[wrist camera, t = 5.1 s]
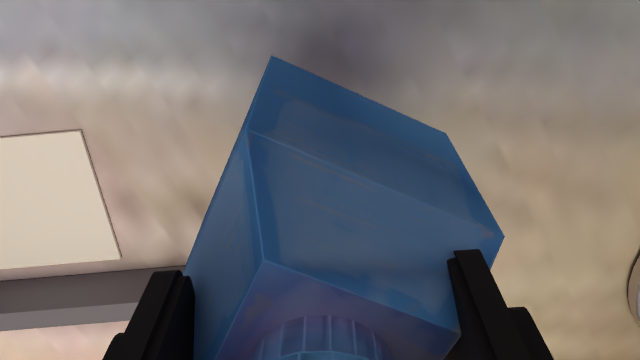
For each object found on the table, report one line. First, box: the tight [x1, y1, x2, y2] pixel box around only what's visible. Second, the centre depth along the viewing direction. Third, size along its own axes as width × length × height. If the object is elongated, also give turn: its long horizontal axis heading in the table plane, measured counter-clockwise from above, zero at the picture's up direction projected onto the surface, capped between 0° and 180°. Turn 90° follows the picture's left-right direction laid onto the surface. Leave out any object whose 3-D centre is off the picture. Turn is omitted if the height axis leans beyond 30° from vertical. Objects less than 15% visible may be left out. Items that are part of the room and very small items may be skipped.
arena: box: [0, 130, 185, 331], centre depth 27 cm, size 17×15×3 cm
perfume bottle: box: [183, 55, 505, 360], centre depth 13 cm, size 6×6×12 cm
